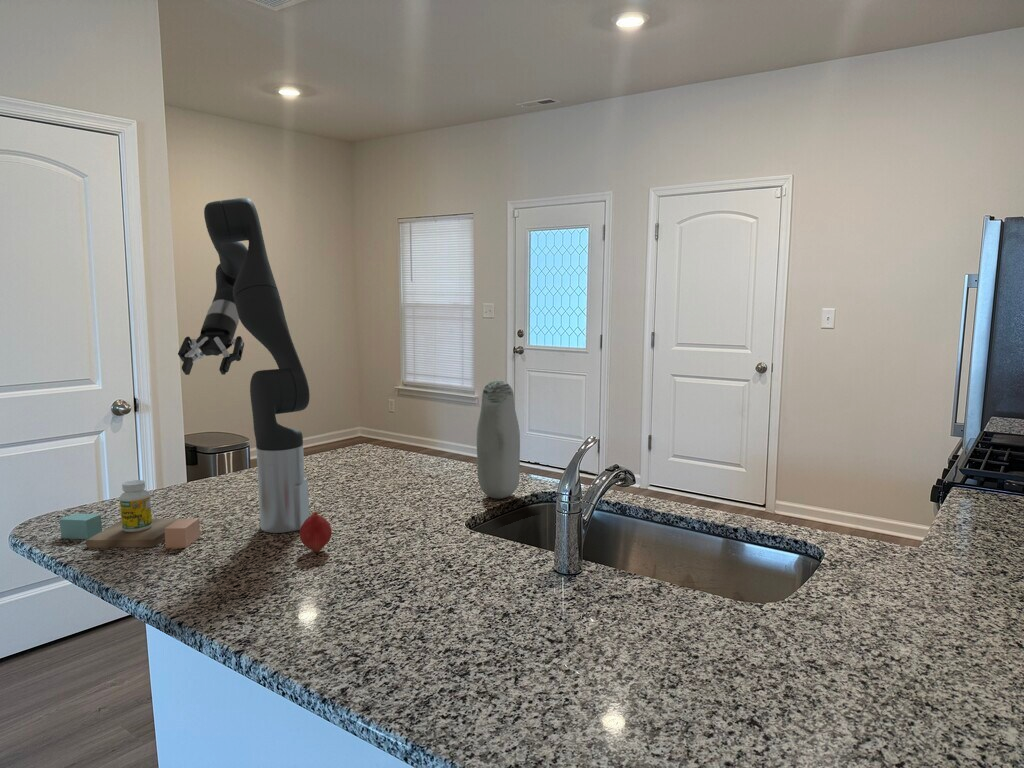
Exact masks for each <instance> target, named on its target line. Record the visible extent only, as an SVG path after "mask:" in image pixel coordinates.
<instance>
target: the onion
mask: <svg viewBox="0 0 1024 768" xmlns="http://www.w3.org/2000/svg"><path fill="white" fill-rule="evenodd" d="M299 538H300V541H301V543H302V544H303V546H305V547H306V548H308V549H309V550H311V551H312V552H314V553H320V551H321V550H322V549H323V548H324V547H325V546H326V545H327V544H328V543H329V542H330V540H331V538H332V526H331V524H330V522H329V521H328V520H327V518H325V517H323V515H319V512H318V510H314V511H313V513H312V514H310V515H309V517H308V518H307V519H306V520H305V521H304V523H303V525H302V526H301V528H300V530H299Z"/></svg>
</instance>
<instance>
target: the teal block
mask: <svg viewBox="0 0 1024 768" xmlns="http://www.w3.org/2000/svg"><path fill="white" fill-rule="evenodd" d="M59 525H60V527H59V528H60V538H61V539H78V540H87V539H89V538H91V537H93V536H94V535H96V534H98V533H100V532H101V531H103V523H102V514H97V513H80V512H79V513H78V512H77V513H73V514H72V513H71V514H70V515H68V516H65V517H62V518H60V519H59Z"/></svg>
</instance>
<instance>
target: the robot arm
mask: <svg viewBox="0 0 1024 768" xmlns="http://www.w3.org/2000/svg"><path fill="white" fill-rule="evenodd" d="M203 209H204V210H203V214H204V216H203V217H204V222H205V226H206V230H207V234H208V236H209V238H210V241H211V243H212V244H213V247H214V248H215V250H216V253H217V254H218V257H219V263H218V264H217V267H216V269H215V284H216V285H215V286H216V287H215V294H214V297H213V300H212V302H211V305H210V306H209V309H208V310H207V312H206V315H205V317H204V320H203V324H202V326H201V328H200V334H199V336H198V337H197V338H194V339H193V338H191V337H190V336H186V337H185V338H184V339H183V341H182V344H181V346H180V348H179V350H178V353H177V355H178V356H179V359H180V360H181V362H183V363H182V365H181V370H182V371H183V373H184V375H186V376H190V374H191V371H192V368H193V365H194V362H196V361H197V360H201V359H203V358H204V357H205V356H206V357H209V356H215V357H217V356H219V355H222V356H223V357H222V360H221V363H220V366H219V369H218V370H219V372H220V374H221V375H226V374H227V373H228V372H229V371H230V367H231V365H232V363H233V362H234V361H236V362H240V361H241V360H242V357H243V351H244V347H245V342H244V340H243V338H242V336H240V335H239V336H236V338H235V335H236V331H237V328H238V325H239V323H241V324H242V326H243V327H244V328H245V329H246V331H248V332H249V333H250V334H251V335H252V337H254V338H255V339H256V340H257V342H259V343H260V344H262V346H263V347H264V348H265V349H267V350H268V352H269V353H270V354H271V355H272V358H273V359H274V361H275V363H276V365H277V368H273V369H261V370H257V371H255V372H254V373H252V375H251V378H250V383H249V384H250V385H249V394H250V404H251V413H252V422H253V432H254V437H255V444H256V445H255V447H256V449H255V450H256V466H257V468H256V469H257V483H258V484H257V486H258V502H259V503H258V504H259V522H260V530H261V531H263V532H265V533H270V534H279V533H280V534H282V533H290V532H294V531H300V528H301V526H302V525H303V523H304V521H305V520H306V519H307V518H308V517H309V516H310V500H309V479H308V478H307V477H305V458H304V457H305V455H304V437H303V433H302V431H301V430H299V429H297V428H293V427H292V428H291V427H287V426H283V425H281V424H279V423H278V421H277V416H276V415H281V414H288V413H296V412H301V411H304V410H306V408H308V405H309V403H310V395H311V394H310V389H309V388H310V386H309V383H308V379H307V376H306V373H305V370H304V367H303V365H302V363H301V359H300V358H299V356H298V352H297V350H296V347H295V344H294V343H293V340H292V337H291V333H290V330H289V327H288V323H287V319H286V315H285V312H284V311H285V310H284V307H283V302H282V299H281V296H280V292H279V290H278V286H277V284H276V280H275V277H274V274H273V271H272V268H271V264H270V260H269V258H268V254H267V249H266V245H265V240H264V236H263V231H262V227H261V221H260V217H259V213H258V211H257V207H256V205H255V204H254V202H253V201H252V200H251V199H250V198H248V197H240V198H238V197H237V198H231V199H229V198H228V199H221V200H215V201H210V202H208V203H206V205H205V207H204V208H203ZM245 241H248V247H247V246H246V245H245V244H244V243H243V242H245ZM239 321H240V322H239ZM232 346H234V347H233V351H232V353H230V352H229V351H228V349H230V347H232ZM199 350H200V351H201V352H199Z"/></svg>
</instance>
